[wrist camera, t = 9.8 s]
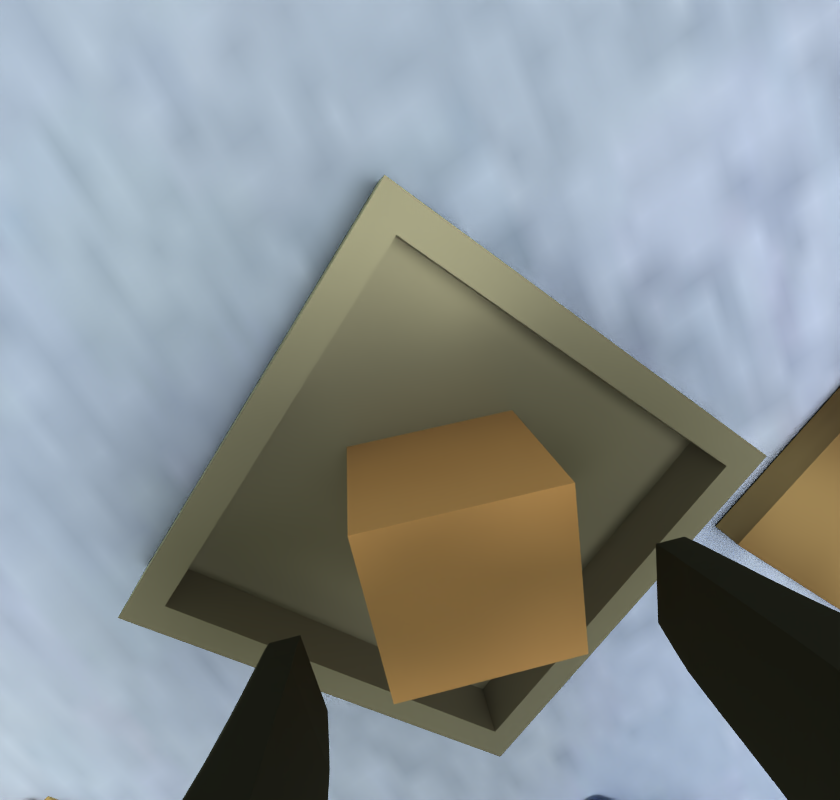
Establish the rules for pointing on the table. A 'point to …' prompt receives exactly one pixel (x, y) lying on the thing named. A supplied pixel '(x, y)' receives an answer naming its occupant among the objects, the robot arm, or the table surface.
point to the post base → (797, 508)
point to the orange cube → (465, 553)
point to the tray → (414, 411)
